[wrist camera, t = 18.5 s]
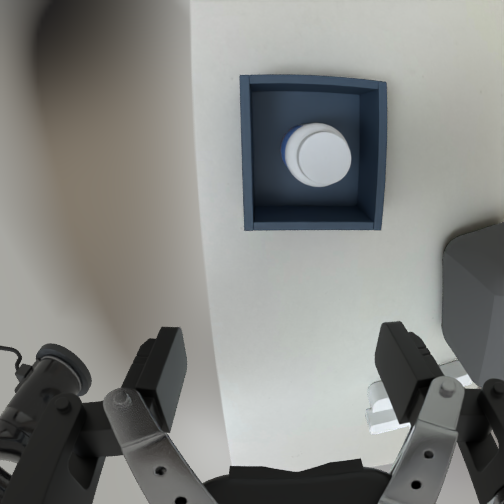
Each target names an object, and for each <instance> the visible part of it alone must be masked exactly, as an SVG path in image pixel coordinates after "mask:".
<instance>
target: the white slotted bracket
mask: <svg viewBox="0 0 504 504" xmlns="http://www.w3.org/2000/svg"><path fill="white" fill-rule="evenodd" d="M439 367H440V369H441V370H442V372H443V374H444V375H445V376H449V377H452V378H455V379H457V380H458V381H459V382H460V383H461V384H462V385H463V387H464V386H467V385H470V384H471V383H472V380H471V379H470V377H469V375H468V374H467V372H466V371H465V369H464V368H463V366H462V364H461V363H460V361H459V360H457V361H454V362H451V363H448V364H444V365H441V366H439ZM368 399H369V403H370V406H371V409H367V410H366V420H367V423H368V427H369V431H370V433H371V434H379V433H383V432H387V431H391V430H395V429H399V428H403V427H406V426H409V427H410V428H411V425H410V423H404V424H399V422H398V420H397V417H396V415H395V412H394V410H393V407H392V405H391V402H390V400H389V397H388V395H387V392H386V390H385V387H384V385H383V382H382V381H380V382H375V383H373V384H371V385H370V386H369V388H368Z"/></svg>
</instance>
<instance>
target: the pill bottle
mask: <svg viewBox="0 0 504 504" xmlns="http://www.w3.org/2000/svg"><path fill="white" fill-rule="evenodd" d="M280 153H281V157H282V160H283V162H284V164H285V165H286V167H287V168H288V169H289V171H290V172H291V173H292V175H293V176H294V177H295V178H296V179H297V180H299V181H300V182H302V183H304V184H306V185H309V186H313V187H324V186H328V185H331V184H333V183H336V182H338V181H339V180H341V179H342V178H343V177H344V176H345V175H346V174H347V172H348V170H349V168H350V165H351V152H350V149H349V147H348V144H347V142H346V140H345V138H344V136H343V135H342V134H341V133H340V132H339V131H338V130H336V129H335V128H333V127H332V126H329V125H326V124H323V123H309V124H301V125H297V126H295V127H293V128H291V129H290V130H289V131H288V132H287V133H286V134H285V135H284V137H283V139H282V142H281V146H280Z"/></svg>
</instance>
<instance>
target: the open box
mask: <svg viewBox="0 0 504 504" xmlns="http://www.w3.org/2000/svg"><path fill="white" fill-rule="evenodd" d="M240 110H241V144H242V176H243V206H244V231H253V230H381V226H382V215H383V204H384V191H385V174H386V152H387V83H386V82H382V81H374V80H366V79H356V78H346V77H333V76H316V75H240ZM309 123H323V124H326V125H329V126H332V127H333V128H335V129H336V130H338V131H339V132H340V133H341V134H342V135H343V136H344V138H345V140H346V142H347V144H348V147H349V149H350V152H351V165H350V168H349V170H348V172H347V174H346V175H345V176H344V177H343V178H342V179H341V180H339V181H338V182H336V183H333V184H331V185H328V186H324V187H313V186H309V185H306V184H304V183H302V182H300V181H299V180H297V179H296V178H295V177H294V176H293V175H292V173H291V172H290V171H289V169H288V168H287V167H286V165H285V164H284V162H283V160H282V157H281V153H280V146H281V142H282V139H283V137H284V135H285V134H286V133H287V132H288V131H289V130H290V129H291V128H293V127H295V126H297V125H301V124H309Z"/></svg>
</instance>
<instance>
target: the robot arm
mask: <svg viewBox="0 0 504 504" xmlns="http://www.w3.org/2000/svg"><path fill="white" fill-rule="evenodd" d="M0 350H5V351H11V352H14V353H16V354H17V356H18V359H17V361H16V363H15V368H16V373H15V375H16V377H17V379H18V380H19V382H20V383H19V384H18V385H17V387H16V388H15V393H16V394H15V396H14V397H13V398H12V400H11V401H10V403H9V404H8V405H7V407H6V409H5V410H4V411H3V413H2V414H1V416H0V460H6V461H11V462H15V463H17V466H16V468H15V470H14V472H13V475H11V474H9V473H8V472H7V471H5V470H4V469H3V468H1V467H0V504H92V503H93V499H94V495H95V492H96V488H97V484H98V481H99V478H100V474H101V471H102V468H103V464H104V461H105V458H106V456H118V455H124V457H125V459H126V461H127V463H128V465H129V467H130V469H131V471H132V473H133V475H134V477H135V479H136V481H137V483H138V485H139V486H140V488H141V490H142V492H143V493H144V495H145V497H146V499H147V500H148V502H149V504H435V503H436V501H437V498H438V496H439V493H440V491H441V488H442V485H443V483H444V480H445V477H446V474H447V471H448V468H449V465H450V462H451V459H452V456H453V452H454V449H455V446H456V442H457V443H458V445H459V448H460V450H461V453H462V456H463V458H464V461H465V463H466V466H467V469H468V471H469V474H470V477H471V480H472V482H473V485H474V488H475V491H476V494H477V497H478V500H479V503H480V504H504V381H503V380H501V379H497V378H492V379H488V380H487V381H486V382H485V383H484V384H483V386H482V389H465V388H464V387H463V385H462V384H461V383H460V382H459V381H458V380H457V379H455V378H452V377H449V376H445V375H444V374H443V372H442V370H441V369H440V367H439V366H438V364H437V363H436V361H435V359H434V358H433V356H432V355H430V352H429V350H428V348H426V345H425V344H424V342H423V341H422V339H421V338H420V337H418V336H417V335H416V334H414V333H413V332H408V331H407V330H406V328H405V327H404V325H403V324H402V322H401V321H397V322H385V323H383V324H382V325H381V328H380V333H379V338H378V342H377V347H376V351H375V365H376V368H377V370H378V373H379V375H380V378H381V380H382V382H383V385H384V387H385V390H386V392H387V395H388V397H389V400H390V402H391V405H392V407H393V410H394V412H395V415H396V417H397V420H398V422H399V424H404V423H410V425H411V428H410V430H409V432H408V434H407V437H406V439H405V441H404V443H403V445H402V447H401V450H400V452H399V454H398V456H397V458H396V460H395V462H394V464H393V466H392V468H391V470H390V471H389V473H387V472H384V471H382V470H378V469H374V468H369V467H363V465H362V461H361V459H354V460H347V461H339V462H330V463H327V464H324V465H321V466H317V467H314V468H311V469H307V470H304V471H300V472H292V471H285V470H279V469H274V468H268V467H263V466H230V471H229V474H228V475H223V476H219V477H216V478H213V479H211V480H208V481H206V482H204V483H201V481H200V480H199V479H198V477H197V476H196V475H195V473H194V472H193V470H192V469H191V468H190V466H189V465H188V464H187V462H186V461H185V459H184V458H183V456H182V455H181V454H180V452H179V451H178V449H177V448H176V446H175V445H174V443H173V442H172V440H171V439H170V437H169V436H168V434H167V433H170V431H171V427H172V423H173V419H174V416H175V412H176V408H177V404H178V400H179V397H180V393H181V389H182V386H183V382H184V378H185V375H186V370H187V357H186V352H185V347H184V340H183V334H182V330H181V328H180V327H161V329H160V331H159V333H158V336H157V338H156V339H151V338H150V339H148V340H147V341H146V342H145V343H144V344H142V345H141V347H140V349H139V351H138V353H137V356H136V357H135V359H134V361H133V364H132V365H131V367H130V369H129V371H128V373H127V376H126V378H125V380H124V382H123V384H122V386H121V388H118V389H115V390H113V391H111V392H110V393H108V394H107V395H106V397H105V398H104V400H103V401H100V402H89V403H82V402H81V400H80V398H79V397H78V396H77V394H78V393H79V392H80V390H81V388H82V380H81V378H80V376H79V374H78V373H77V371H76V370H75V369H74V368H73V367H72V366H71V365H70V364H69V363H68V362H66V361H65V360H63V359H62V358H60V357H58V356H55V355H51V354H48V355H44V356H43V357H42V358H38V359H37V360H36V362H35V363H34V364H33V366H30V365H26V364H22V365H21V367H19V364H20V362H21V360H22V356H21V354H20V353H19V351H18V350H16V349H14V348H10V347H4V346H0ZM491 430H493V432H494V434H495V436H496V438H497V440H498V443H499V449H498V447H497V445H496V443H495V441H494V439H493V437H492V435H491Z"/></svg>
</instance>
